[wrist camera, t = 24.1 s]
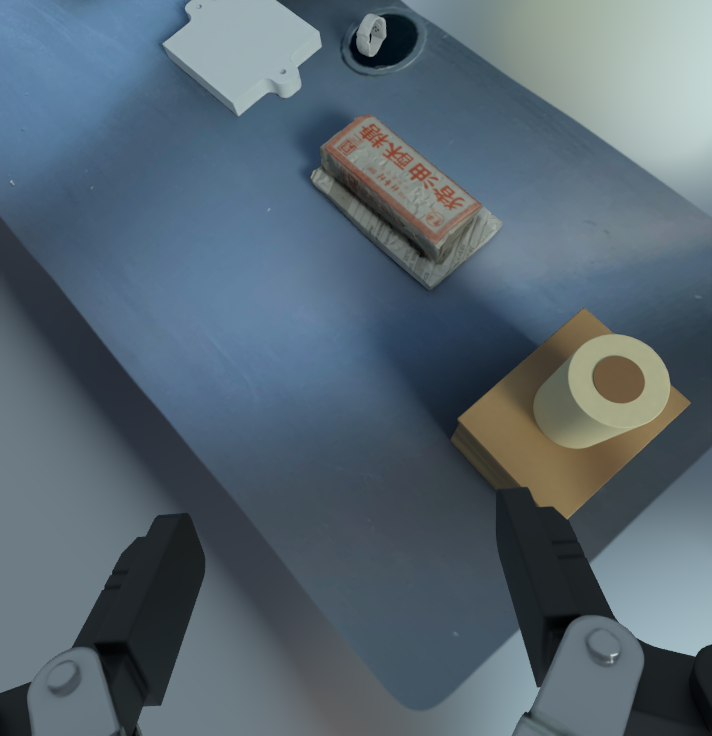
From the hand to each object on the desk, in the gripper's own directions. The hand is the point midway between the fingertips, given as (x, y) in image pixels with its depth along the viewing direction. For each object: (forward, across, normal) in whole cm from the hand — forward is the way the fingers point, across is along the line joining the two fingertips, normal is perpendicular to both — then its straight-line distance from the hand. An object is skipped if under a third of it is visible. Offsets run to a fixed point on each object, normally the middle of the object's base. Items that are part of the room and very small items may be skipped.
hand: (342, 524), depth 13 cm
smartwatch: (+59, -3, -14) cm, 60 cm away
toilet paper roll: (+20, -14, +11) cm, 26 cm away
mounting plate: (+60, +12, -16) cm, 64 cm away
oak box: (+27, -14, +18) cm, 35 cm away
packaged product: (+44, -4, +1) cm, 44 cm away
